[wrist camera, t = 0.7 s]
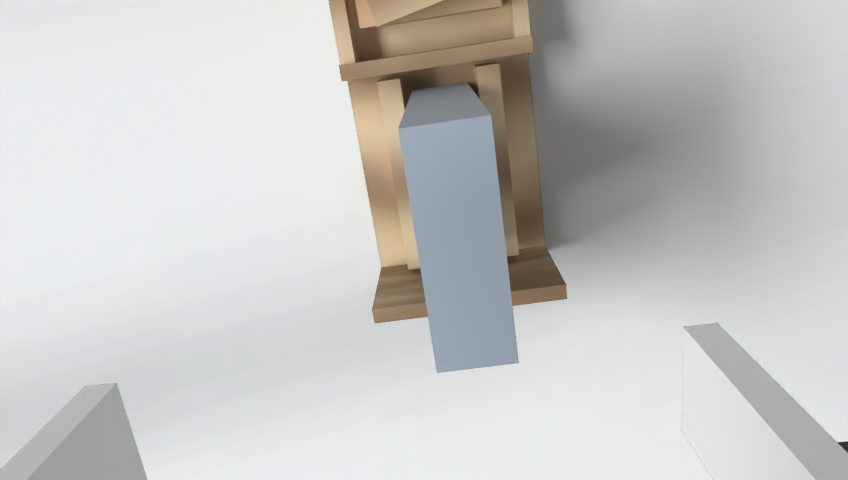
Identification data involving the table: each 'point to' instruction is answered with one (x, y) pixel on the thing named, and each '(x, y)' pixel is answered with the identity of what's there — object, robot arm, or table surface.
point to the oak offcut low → (428, 11)
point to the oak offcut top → (398, 9)
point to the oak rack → (381, 150)
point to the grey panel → (458, 226)
